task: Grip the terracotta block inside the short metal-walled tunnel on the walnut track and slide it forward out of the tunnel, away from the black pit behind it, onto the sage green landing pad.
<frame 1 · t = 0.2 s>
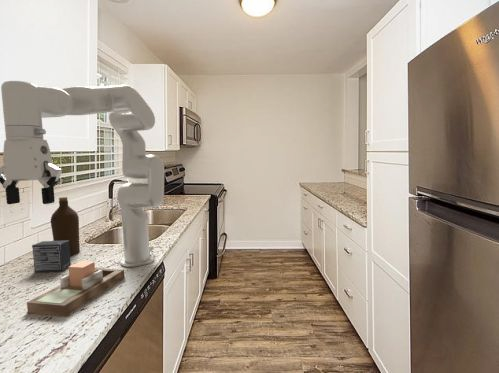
hand: (31, 203, 77), 30 cm above the countertop, tool pointing down, fingers open, 9 cm apart
block: (83, 283, 96), point 3 cm above the countertop, touching track
small box: (53, 269, 117), on the countertop
track: (82, 293, 95), on the countertop
olive oil: (68, 253, 137), on the countertop
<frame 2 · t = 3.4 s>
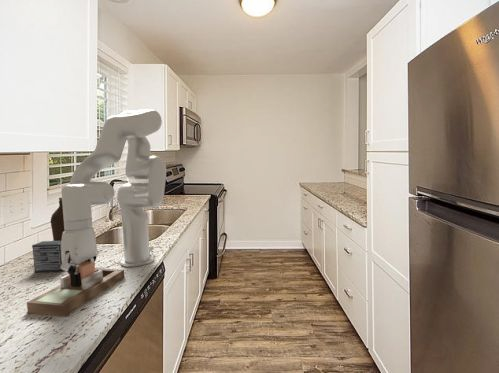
hand: (83, 281, 96), 3 cm above the countertop, tool pointing down, fingers closed on block, 5 cm apart
block: (83, 283, 96), point 3 cm above the countertop, touching gripper, track
everything else where it was.
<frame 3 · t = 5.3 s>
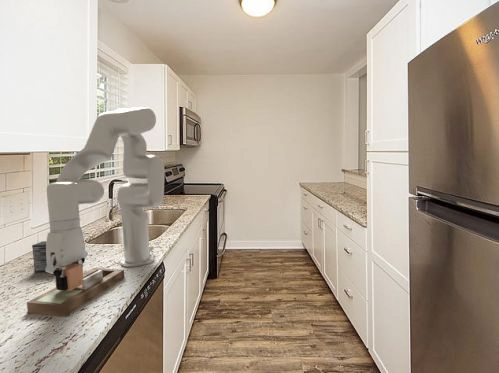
hand: (70, 285, 91), 5 cm above the countertop, tool pointing down, fingers closed on block, 5 cm apart
block: (70, 286, 91), point 4 cm above the countertop, touching gripper
everything else where it was.
when the fingers open (4 cm above the countertop, at t = 7.3 s): block stays where it is, resting on track.
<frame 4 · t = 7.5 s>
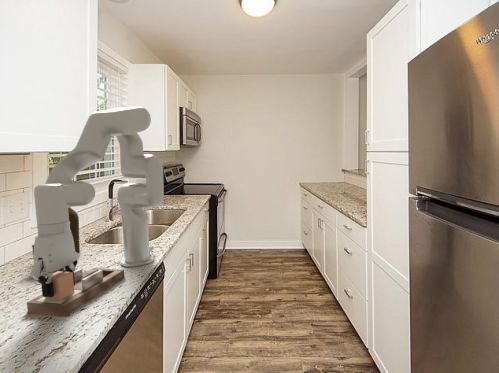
hand: (59, 290, 87), 5 cm above the countertop, tool pointing down, fingers open, 6 cm apart
block: (60, 295, 87), point 3 cm above the countertop, touching track
everything else where it was.
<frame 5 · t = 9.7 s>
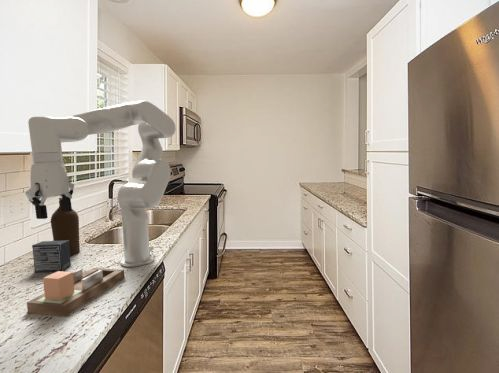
hand: (55, 214, 94), 25 cm above the countertop, tool pointing down, fingers open, 9 cm apart
nothing on the countertop moved.
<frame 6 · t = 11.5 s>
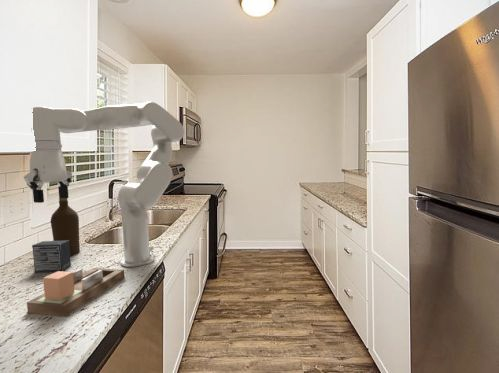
hand: (52, 200, 100), 28 cm above the countertop, tool pointing down, fingers open, 9 cm apart
nothing on the countertop moved.
at the end: block 1.2 cm from the target spot on the track, point 3.1 cm above the track's base; block tilted 0°; the gripper is holding nothing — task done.
